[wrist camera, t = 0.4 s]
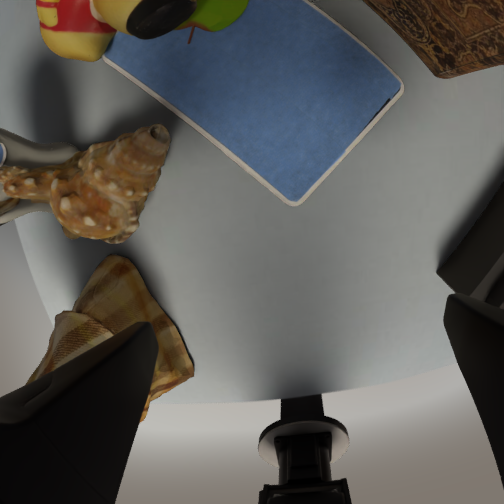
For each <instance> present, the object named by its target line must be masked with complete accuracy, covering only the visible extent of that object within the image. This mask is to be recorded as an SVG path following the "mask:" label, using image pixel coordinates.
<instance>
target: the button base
mask: <svg viewBox="0 0 504 504" xmlns="http://www.w3.org/2000/svg"><path fill="white" fill-rule="evenodd" d="M437 274H438V275H439V276H440V277H441V278H442V280H443V281H444V282H445V283H446V284H447V285H448V286H449V287H450V288H451V289H452V290H453V291H454V292H455V293H462V294H465V295H467V296H470V297H473V298H475V299H478V300H480V301H483V302H486V303H488V304H491V305H493V306H496V307H498V308H501V309H503V310H504V181H503V183H502V185H501V186H500V188H499V189H498V191H497V192H496V194H495V195H494V197H493V199H492V200H491V201H490V203H489V204H488V206H487V207H486V209H485V210H484V212H483V213H482V215H481V216H480V217H479V219H478V220H477V222H476V223H475V224H474V226H473V227H472V229H471V230H470V231H469V233H468V234H467V235H466V237H465V238H464V239H463V241H462V242H461V243H460V244H459V246H458V247H457V248H456V250H455V251H454V252H453V253H452V255H451V256H450V257H449V258H448V260H447V261H446V262H445V263H444V265H443V266H442V267H441V268H440V269H439V271H438V272H437Z"/></svg>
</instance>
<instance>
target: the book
mask: <svg viewBox="0 0 504 504" xmlns="http://www.w3.org/2000/svg"><path fill="white" fill-rule="evenodd" d="M363 1H364V2H365V3H366V4H367V5H368V6H370V7H371V8H372V9H373V10H374V11H375V12H376V13H377V14H378V15H379V16H380V17H381V18H382V19H383V20H384V21H386V22H387V23H388V24H389V25H390V26H391V27H392V28H393V29H394V30H395V31H396V32H397V33H398V35H399V36H400V37H401V38H402V39H403V40H404V41H405V42H406V43H407V44H408V45H409V46H410V47H411V48H412V50H413V51H414V52H415V53H416V54H417V55H418V56H419V57H420V59H421V60H422V61H423V62H424V63H425V64H426V66H427V67H428V68H429V69H430V70H431V72H432V73H433V74H434V76H436V77H439V78H443V79H448V78H453V77H456V76H460V75H463V74H467V73H471V72H474V71H478V70H482V69H486V68H490V67H494V66H498V65H503V64H504V0H363Z"/></svg>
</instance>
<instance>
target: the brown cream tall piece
mask: <svg viewBox="0 0 504 504" xmlns="http://www.w3.org/2000/svg"><path fill="white" fill-rule="evenodd" d="M139 321H148V322H150V323H151V324H152V326H153V329H154V332H155V335H156V338H157V340H158V344H159V352H158V356H157V361H156V365H155V370H154V375H153V379H152V384H151V388H150V392H149V395H148V398H147V401H146V404H145V407H144V410H143V413H142V416H141V419H140V422H142V421H143V420H144V419H145V417H146V415H147V411H148V408H149V403H150V401H152V400H154V399H156V398H158V397H160V396H161V395H162V394H163V393H166V392H168V391H170V390H171V389H173V388H174V387H176V386H178V385H179V384H181V383H183V382H185V381H186V380H188V379H189V378H190V377H193V376H194V368H193V364H192V362H191V360H190V359H189V357H188V354H187V352H186V349H185V346H184V344H183V341H182V339H181V337H180V335H179V333H178V331H177V329H176V327H175V326H174V324H173V323H172V322H171V320H170V319H169V318H168V317H167V315H166V314H165V313H164V312H163V310H162V309H161V308H160V306H159V305H158V304H157V302H156V301H155V300H154V299H153V298H152V295H150V293H149V291H148V289H147V287H146V286H145V283H144V281H143V279H142V278H141V276H140V274H139V272H138V270H137V269H136V267H135V266H134V265H133V264H132V263H131V262H130V260H129V259H127V258H124V257H122V256H119V255H115V254H110V255H109V256H107V257H106V258H105V259H104V260H103V261H102V262H101V263H100V264H99V265H98V267H97V268H96V270H95V272H94V273H93V274H92V276H91V277H90V279H89V280H88V282H87V284H86V286H85V287H84V289H83V290H82V292H81V294H80V297H79V298H78V299H77V300H76V301H75V304H74V306H73V309H72V311H62V313H60V314H57V315H56V316H55V328H54V331H53V332H52V334H51V337H50V340H49V346H48V350H47V353H46V354H45V356H44V358H43V359H42V361H41V363H40V364H39V366H38V367H37V368H36V370H35V371H34V372H33V374H32V375H31V377H30V378H29V380H28V382H27V383H26V385H27V384H29V383H31V382H33V381H34V380H36V379H38V378H40V377H42V376H44V375H45V374H47V373H49V372H51V371H54V369H56V368H58V367H59V366H61V365H63V364H65V363H66V362H68V361H70V360H72V359H73V358H75V357H77V356H79V355H80V354H82V353H84V352H86V351H87V350H89V349H91V348H93V347H94V346H96V345H98V344H100V343H101V342H103V341H105V340H107V339H108V338H110V337H112V336H113V335H115V334H117V333H119V332H120V331H122V330H124V329H126V328H127V327H129V326H131V325H133V324H134V323H136V322H139ZM140 422H139V423H140Z"/></svg>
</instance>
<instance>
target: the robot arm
mask: <svg viewBox="0 0 504 504" xmlns="http://www.w3.org/2000/svg"><path fill="white" fill-rule="evenodd" d="M443 322H444V327H445V329H446V332H447V335H448V337H449V340H450V343H451V346H452V349H453V351H454V354H455V357H456V360H457V363H458V365H459V368H460V370H461V372H462V374H463V376H464V378H465V381H466V383H467V386H468V388H469V390H470V393H471V395H472V397H473V400H474V402H475V405H476V407H477V410H478V412H479V415H480V417H481V420H482V423H483V425H484V428H485V430H486V433H487V436H488V439H489V442H490V444H491V447H492V451H493V454H494V457H495V460H496V463H497V467H498V470H499V473H500V476H502V477H501V481H502V484H503V488H504V310H503V309H501V308H498V307H496V306H493V305H491V304H488V303H486V302H483V301H480V300H478V299H475V298H473V297H470V296H467V295H465V294H462V293H455V294H450V295H449V296H448V298H447V302H446V307H445V313H444V319H443ZM158 352H159V344H158V340H157V338H156V335H155V332H154V329H153V326H152V324H151V323H150V322H148V321H139V322H136V323H134V324H133V325H131V326H129V327H127V328H126V329H124V330H122V331H120V332H119V333H117V334H115V335H113V336H112V337H110V338H108V339H107V340H105V341H103V342H101V343H100V344H98V345H96V346H94V347H93V348H91V349H89V350H87V351H86V352H84V353H82V354H80V355H79V356H77V357H75V358H73V359H72V360H70V361H68V362H66V363H65V364H63V365H61V366H59V367H58V368H56V369H54V371H51V372H49V373H47V374H45V375H44V376H42V377H40V378H38V379H36V380H34V381H33V382H31V383H29V384H27V385H25V386H23V387H21V388H19V389H17V390H15V391H13V392H11V393H9V394H6V395H4V396H2V397H1V398H0V504H115V501H116V498H117V494H118V491H119V487H120V484H121V480H122V477H123V473H124V470H125V467H126V464H127V460H128V457H129V454H130V451H131V447H132V444H133V441H134V438H135V435H136V431H137V428H138V425H139V422H140V419H141V416H142V413H143V410H144V407H145V404H146V401H147V398H148V395H149V392H150V388H151V384H152V379H153V375H154V370H155V365H156V361H157V356H158ZM274 446H275V451H276V455H277V460H278V465H279V485H269V484H265V485H264V488H263V490H262V491H260V492H259V502H258V504H352V503H351V498H350V494H349V489H348V484H347V479H346V478H343V479H341V480H334V481H332V479H331V469H330V462H331V460H332V432H329V431H327V432H319V433H310V434H300V435H289V436H277V437H274Z"/></svg>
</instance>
